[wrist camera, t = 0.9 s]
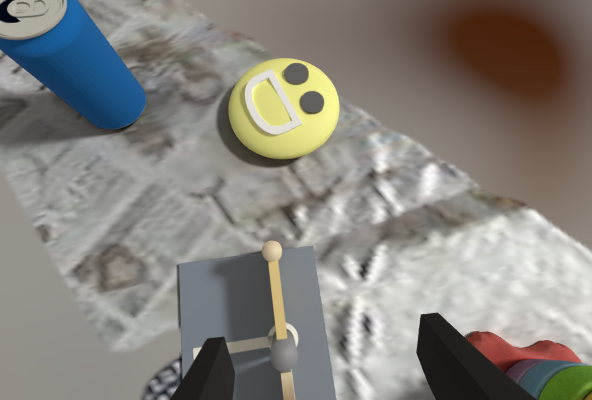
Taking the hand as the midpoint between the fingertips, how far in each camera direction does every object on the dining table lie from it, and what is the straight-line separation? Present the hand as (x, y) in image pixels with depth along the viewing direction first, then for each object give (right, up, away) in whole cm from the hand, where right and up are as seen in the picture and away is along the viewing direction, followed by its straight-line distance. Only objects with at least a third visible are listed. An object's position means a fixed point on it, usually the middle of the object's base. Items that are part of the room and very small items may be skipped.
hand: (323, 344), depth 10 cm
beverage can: (-21, +16, +21) cm, 33 cm away
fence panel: (-3, -4, +15) cm, 16 cm away
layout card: (-5, -7, +15) cm, 17 cm away
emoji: (-3, +15, +22) cm, 26 cm away
